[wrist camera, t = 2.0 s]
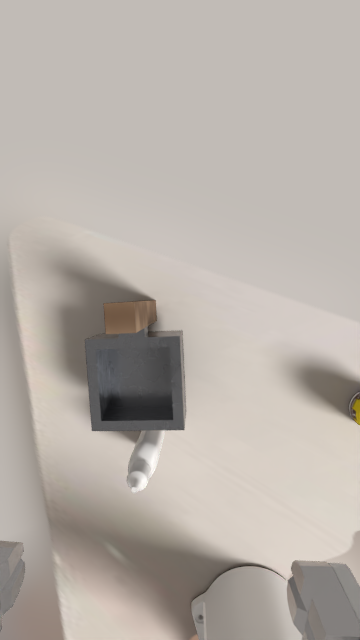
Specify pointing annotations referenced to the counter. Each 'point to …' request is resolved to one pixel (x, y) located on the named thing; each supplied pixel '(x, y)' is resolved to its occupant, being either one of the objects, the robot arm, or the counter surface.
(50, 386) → the counter surface
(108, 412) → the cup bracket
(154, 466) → the eye dropper bottle
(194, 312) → the counter surface
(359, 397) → the supplement bottle
